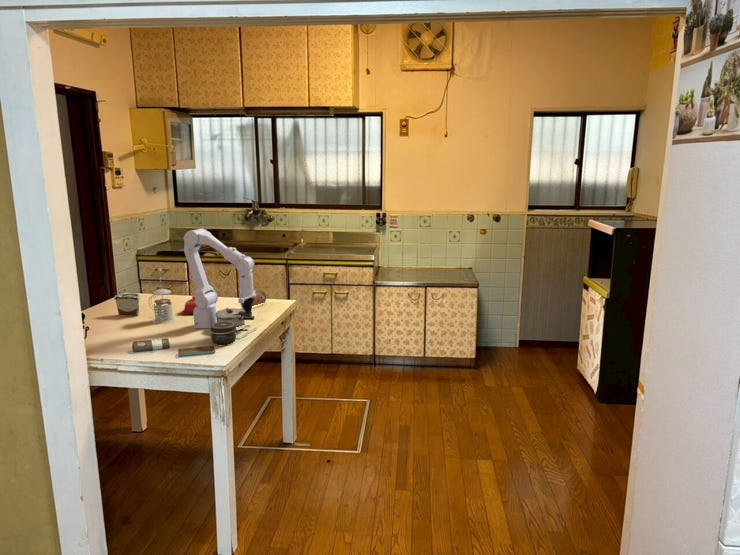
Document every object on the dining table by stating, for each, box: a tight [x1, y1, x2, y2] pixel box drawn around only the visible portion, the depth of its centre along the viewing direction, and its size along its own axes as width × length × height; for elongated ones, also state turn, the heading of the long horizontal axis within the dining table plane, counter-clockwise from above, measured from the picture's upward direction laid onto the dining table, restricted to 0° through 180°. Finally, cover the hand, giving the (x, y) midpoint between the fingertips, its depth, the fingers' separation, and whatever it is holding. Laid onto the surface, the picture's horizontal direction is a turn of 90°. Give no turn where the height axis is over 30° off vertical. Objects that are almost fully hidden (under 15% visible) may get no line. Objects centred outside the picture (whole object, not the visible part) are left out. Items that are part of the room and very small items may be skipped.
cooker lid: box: [215, 307, 253, 319], centre depth 227 cm, size 17×13×2 cm
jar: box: [210, 321, 237, 347], centre depth 211 cm, size 10×10×8 cm
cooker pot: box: [216, 315, 255, 327], centre depth 229 cm, size 16×12×6 cm
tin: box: [240, 290, 267, 309], centre depth 261 cm, size 15×3×8 cm, turn 143°
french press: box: [148, 268, 176, 325], centre depth 237 cm, size 10×12×25 cm
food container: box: [113, 292, 141, 317], centre depth 248 cm, size 12×6×10 cm, turn 84°
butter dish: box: [180, 295, 198, 315], centre depth 253 cm, size 12×12×8 cm
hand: (248, 314), depth 227 cm, fingers closed, pressing on cooker lid
